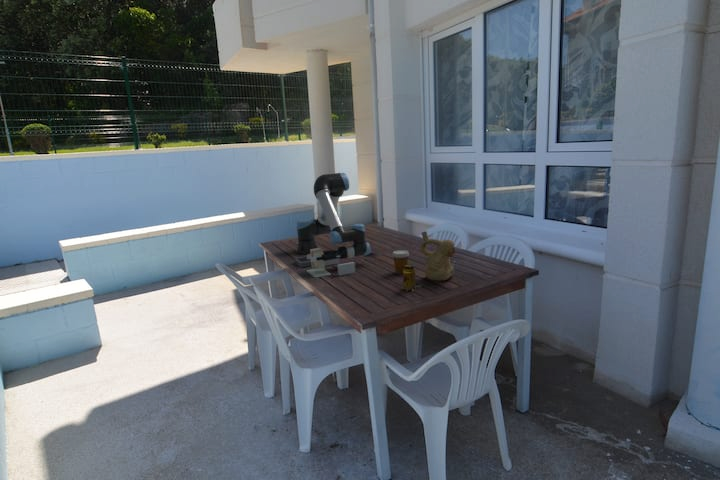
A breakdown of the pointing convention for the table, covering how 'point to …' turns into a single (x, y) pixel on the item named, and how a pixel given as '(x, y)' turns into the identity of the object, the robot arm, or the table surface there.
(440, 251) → the ceramic vessel
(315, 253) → the birch block
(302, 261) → the tray
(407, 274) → the condiment
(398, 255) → the disposable coffee cup
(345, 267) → the walled passage
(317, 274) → the pad
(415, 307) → the table surface
